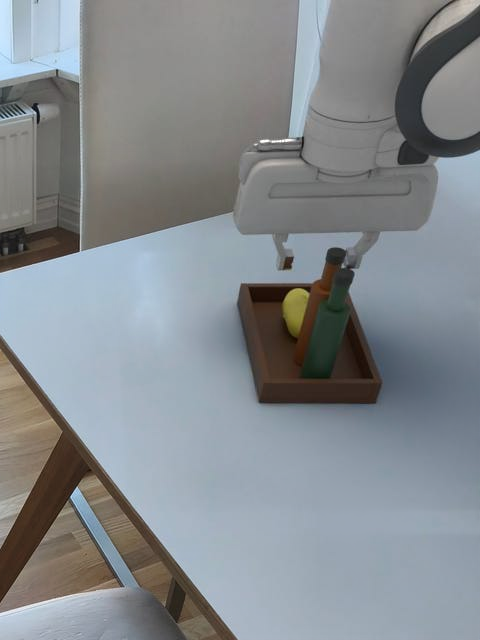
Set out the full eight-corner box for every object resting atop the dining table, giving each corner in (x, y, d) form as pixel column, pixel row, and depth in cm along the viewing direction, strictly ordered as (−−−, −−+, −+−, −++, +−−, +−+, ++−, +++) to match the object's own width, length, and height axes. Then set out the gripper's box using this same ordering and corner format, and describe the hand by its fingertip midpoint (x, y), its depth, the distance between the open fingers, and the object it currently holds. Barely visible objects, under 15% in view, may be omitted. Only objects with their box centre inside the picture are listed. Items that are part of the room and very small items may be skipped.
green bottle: (325, 373, 99) (357, 264, 89) (330, 390, 97) (364, 280, 87) (296, 373, 99) (325, 264, 89) (301, 390, 97) (331, 280, 87)
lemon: (279, 344, 103) (287, 313, 100) (278, 307, 108) (285, 277, 105) (316, 346, 102) (325, 316, 99) (313, 309, 107) (321, 279, 104)
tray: (339, 302, 109) (345, 282, 107) (375, 403, 96) (382, 383, 94) (237, 302, 110) (240, 283, 108) (258, 402, 97) (263, 382, 95)
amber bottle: (319, 352, 102) (349, 243, 92) (323, 368, 100) (356, 259, 90) (290, 352, 102) (318, 243, 92) (295, 368, 100) (324, 259, 90)
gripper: (246, 152, 88) (226, 283, 98) (459, 146, 86) (415, 280, 97) (239, 126, 91) (220, 255, 102) (442, 120, 90) (402, 251, 101)
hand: (316, 267), depth 99 cm, fingers open, 6 cm apart
